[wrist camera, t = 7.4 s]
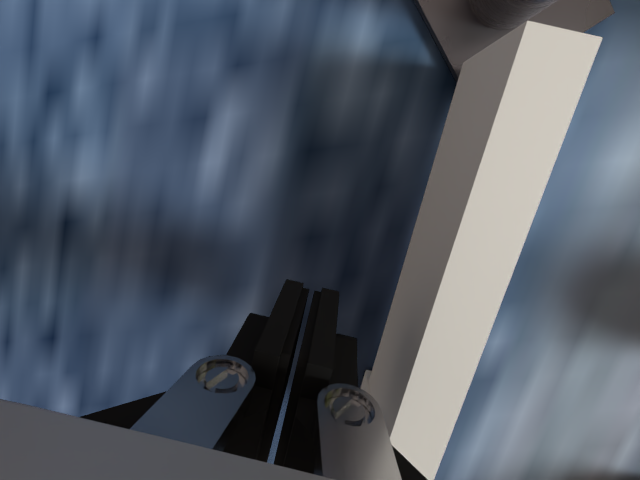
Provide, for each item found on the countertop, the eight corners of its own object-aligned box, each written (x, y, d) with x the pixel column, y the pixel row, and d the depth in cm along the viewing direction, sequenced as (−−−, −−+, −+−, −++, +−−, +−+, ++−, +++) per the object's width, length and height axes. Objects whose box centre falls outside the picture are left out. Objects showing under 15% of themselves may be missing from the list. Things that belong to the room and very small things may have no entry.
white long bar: (453, 66, 13) (523, 19, 8) (504, 77, 13) (607, 38, 8) (355, 403, 17) (359, 519, 12) (395, 412, 17) (417, 532, 12)
